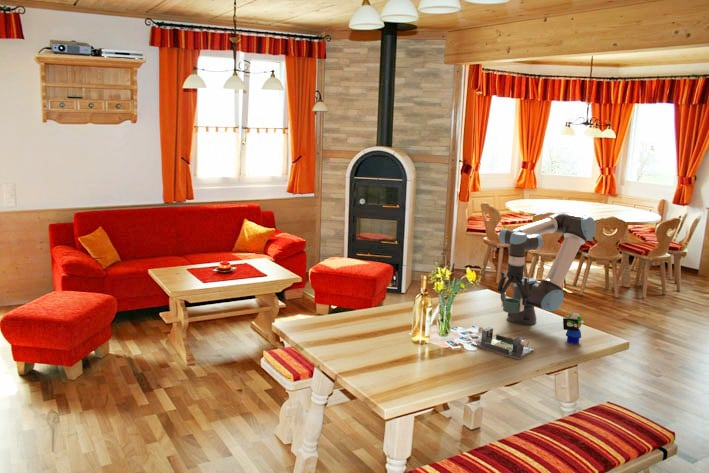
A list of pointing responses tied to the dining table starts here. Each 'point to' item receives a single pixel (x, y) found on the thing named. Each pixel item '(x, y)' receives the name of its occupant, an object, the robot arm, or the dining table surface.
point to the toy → (573, 327)
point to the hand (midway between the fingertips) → (512, 308)
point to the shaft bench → (503, 344)
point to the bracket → (511, 304)
